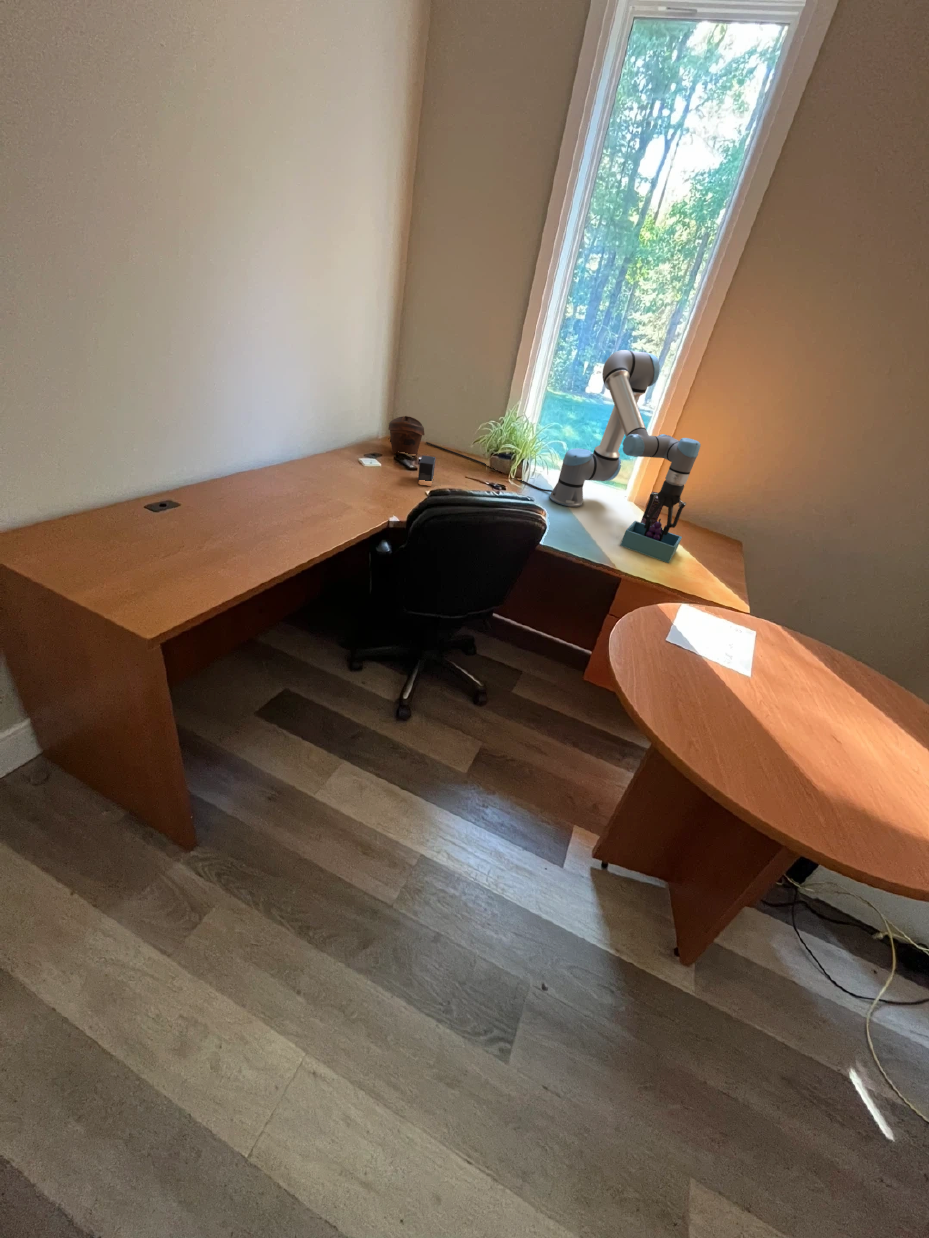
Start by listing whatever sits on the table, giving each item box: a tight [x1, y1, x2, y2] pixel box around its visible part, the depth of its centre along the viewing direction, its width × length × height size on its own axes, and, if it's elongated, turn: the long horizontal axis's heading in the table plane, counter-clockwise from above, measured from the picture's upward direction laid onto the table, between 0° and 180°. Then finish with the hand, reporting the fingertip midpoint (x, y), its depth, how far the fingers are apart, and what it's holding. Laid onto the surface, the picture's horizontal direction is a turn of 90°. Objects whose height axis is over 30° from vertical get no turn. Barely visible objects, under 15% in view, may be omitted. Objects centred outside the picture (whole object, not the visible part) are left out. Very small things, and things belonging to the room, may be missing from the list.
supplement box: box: [640, 491, 664, 526], centre depth 210 cm, size 9×5×16 cm, turn 168°
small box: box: [417, 455, 436, 481], centre depth 220 cm, size 11×6×10 cm, turn 178°
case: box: [387, 415, 425, 456], centre depth 247 cm, size 18×20×18 cm
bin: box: [620, 520, 683, 564], centre depth 196 cm, size 20×14×7 cm
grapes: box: [646, 518, 664, 541], centre depth 193 cm, size 5×5×10 cm
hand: (652, 538), depth 195 cm, fingers closed on grapes, 5 cm apart
